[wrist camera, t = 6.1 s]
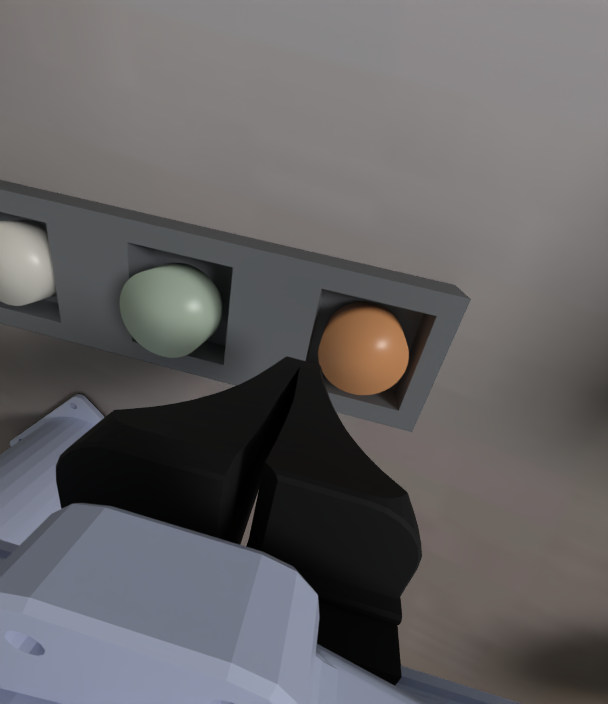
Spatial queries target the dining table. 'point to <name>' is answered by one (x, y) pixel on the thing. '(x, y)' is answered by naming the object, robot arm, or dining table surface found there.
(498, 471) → the dining table surface
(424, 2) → the dining table surface
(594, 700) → the dining table surface
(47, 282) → the cream button
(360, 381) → the orange button
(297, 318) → the button panel
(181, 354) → the sage button
